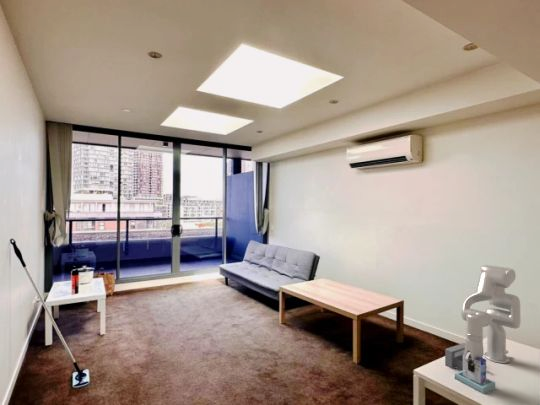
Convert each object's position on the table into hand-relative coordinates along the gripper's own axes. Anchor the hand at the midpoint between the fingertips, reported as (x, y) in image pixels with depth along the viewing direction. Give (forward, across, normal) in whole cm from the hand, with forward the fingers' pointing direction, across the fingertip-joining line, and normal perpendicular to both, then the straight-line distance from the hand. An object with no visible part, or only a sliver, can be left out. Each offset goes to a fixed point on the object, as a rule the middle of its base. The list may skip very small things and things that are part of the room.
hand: (474, 369), depth 168 cm
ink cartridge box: (+5, 0, 0) cm, 5 cm away
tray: (+8, 0, 0) cm, 8 cm away
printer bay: (+8, -12, -11) cm, 18 cm away
